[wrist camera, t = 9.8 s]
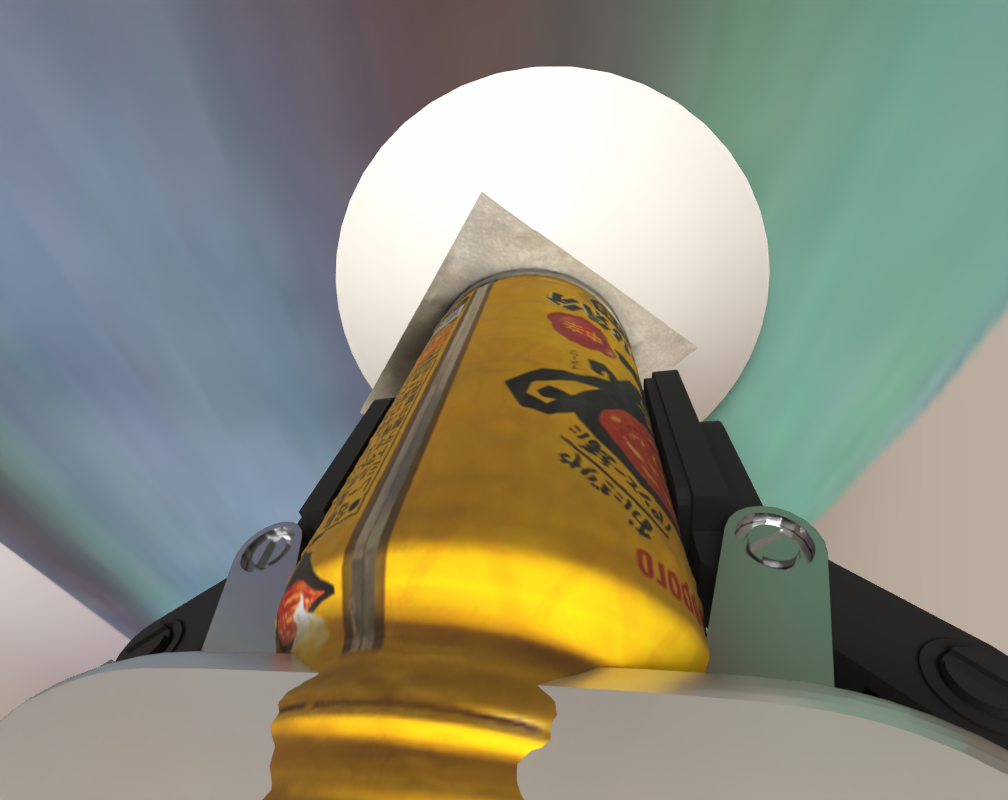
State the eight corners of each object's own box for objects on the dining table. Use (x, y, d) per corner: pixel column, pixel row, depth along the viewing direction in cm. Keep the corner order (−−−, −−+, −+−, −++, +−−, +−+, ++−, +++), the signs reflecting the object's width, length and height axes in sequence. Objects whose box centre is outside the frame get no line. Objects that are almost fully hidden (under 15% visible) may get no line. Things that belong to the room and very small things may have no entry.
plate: (416, 473, 23) (411, 487, 22) (274, 134, 14) (257, 136, 14) (734, 455, 20) (741, 469, 19) (797, -1, 11) (815, -11, 10)
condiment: (696, 344, 12) (1234, 1324, 2) (530, 498, 17) (474, 1053, 7) (482, 189, 11) (-646, 1227, 1) (363, 406, 15) (-20, 959, 5)
